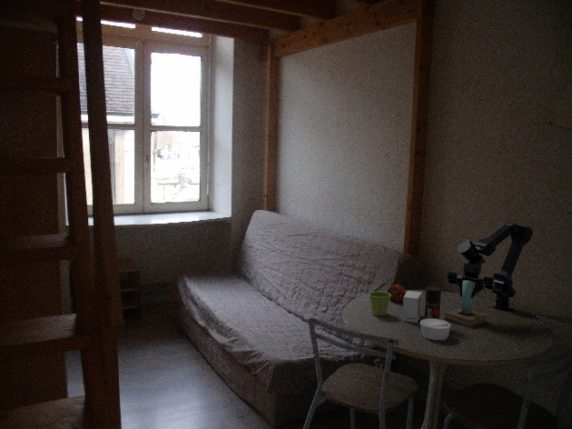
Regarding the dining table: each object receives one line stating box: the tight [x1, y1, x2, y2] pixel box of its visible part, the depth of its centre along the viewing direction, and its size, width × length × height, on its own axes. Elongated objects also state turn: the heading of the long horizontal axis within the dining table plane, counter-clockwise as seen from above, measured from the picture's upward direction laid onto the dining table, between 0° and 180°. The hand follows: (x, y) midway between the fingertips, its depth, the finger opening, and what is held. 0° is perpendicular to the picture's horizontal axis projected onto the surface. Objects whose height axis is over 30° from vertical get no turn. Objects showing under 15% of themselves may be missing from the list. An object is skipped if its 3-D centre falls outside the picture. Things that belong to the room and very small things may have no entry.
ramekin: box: [419, 319, 451, 341], centre depth 198 cm, size 11×11×5 cm
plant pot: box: [368, 291, 391, 317], centre depth 224 cm, size 9×9×9 cm
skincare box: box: [402, 290, 423, 324], centre depth 219 cm, size 10×6×10 cm, turn 157°
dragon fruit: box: [385, 283, 406, 303], centre depth 246 cm, size 8×8×12 cm
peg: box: [460, 280, 474, 314], centre depth 216 cm, size 4×4×13 cm
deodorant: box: [423, 286, 442, 320], centre depth 211 cm, size 6×6×15 cm
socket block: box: [444, 307, 488, 328], centre depth 217 cm, size 12×12×3 cm
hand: (466, 297), depth 215 cm, fingers closed on peg, 4 cm apart
